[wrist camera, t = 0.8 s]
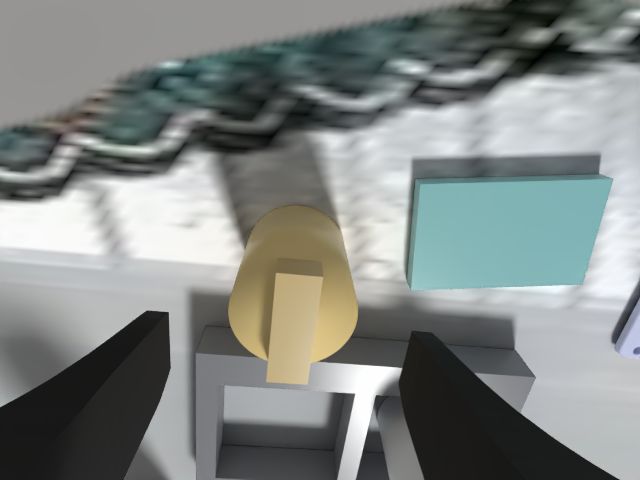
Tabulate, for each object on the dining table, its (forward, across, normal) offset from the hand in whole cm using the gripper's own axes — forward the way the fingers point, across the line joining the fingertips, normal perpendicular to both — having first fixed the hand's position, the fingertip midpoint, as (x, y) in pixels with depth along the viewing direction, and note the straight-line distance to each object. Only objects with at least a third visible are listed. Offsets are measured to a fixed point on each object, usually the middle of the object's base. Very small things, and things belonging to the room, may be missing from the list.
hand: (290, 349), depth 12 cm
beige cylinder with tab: (+7, 0, 0) cm, 7 cm away
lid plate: (+7, -9, -2) cm, 11 cm away
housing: (+7, -4, +10) cm, 13 cm away
